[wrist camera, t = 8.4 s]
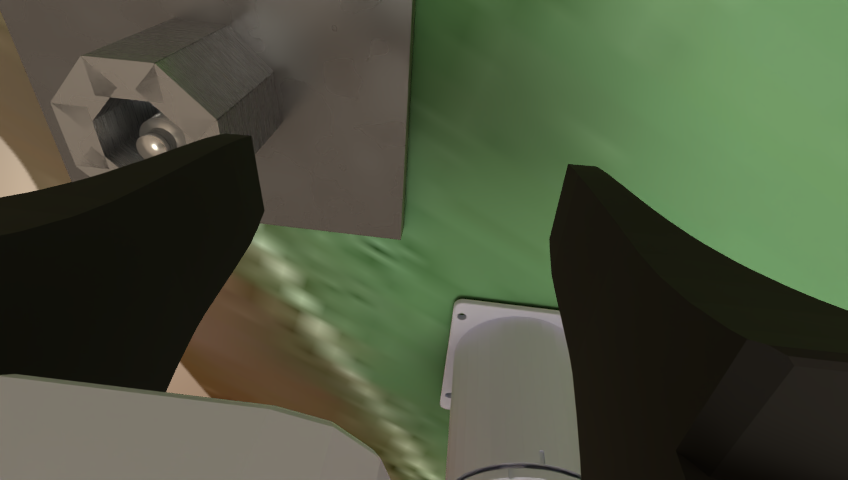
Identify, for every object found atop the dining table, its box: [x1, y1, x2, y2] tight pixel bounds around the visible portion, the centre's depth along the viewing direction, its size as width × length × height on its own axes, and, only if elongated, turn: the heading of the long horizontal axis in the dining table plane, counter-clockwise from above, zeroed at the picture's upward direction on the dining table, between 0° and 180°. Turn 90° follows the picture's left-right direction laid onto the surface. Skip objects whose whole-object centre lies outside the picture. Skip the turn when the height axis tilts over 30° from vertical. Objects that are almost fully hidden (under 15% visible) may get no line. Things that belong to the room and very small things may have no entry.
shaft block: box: [0, 0, 415, 240], centre depth 18 cm, size 12×16×6 cm
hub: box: [51, 19, 281, 177], centre depth 18 cm, size 5×5×5 cm
